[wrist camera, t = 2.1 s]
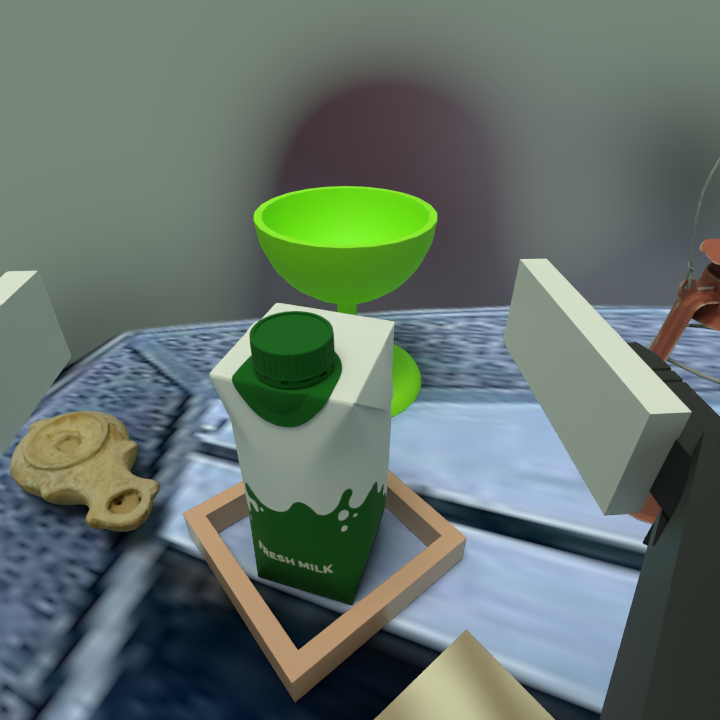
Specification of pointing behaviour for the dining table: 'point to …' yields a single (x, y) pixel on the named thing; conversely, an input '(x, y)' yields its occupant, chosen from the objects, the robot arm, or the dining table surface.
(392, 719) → the board
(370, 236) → the wineglass
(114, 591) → the dining table surface
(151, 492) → the oil lamp
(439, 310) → the dining table surface
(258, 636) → the holder
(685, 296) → the lantern
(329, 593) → the green white milk carton
